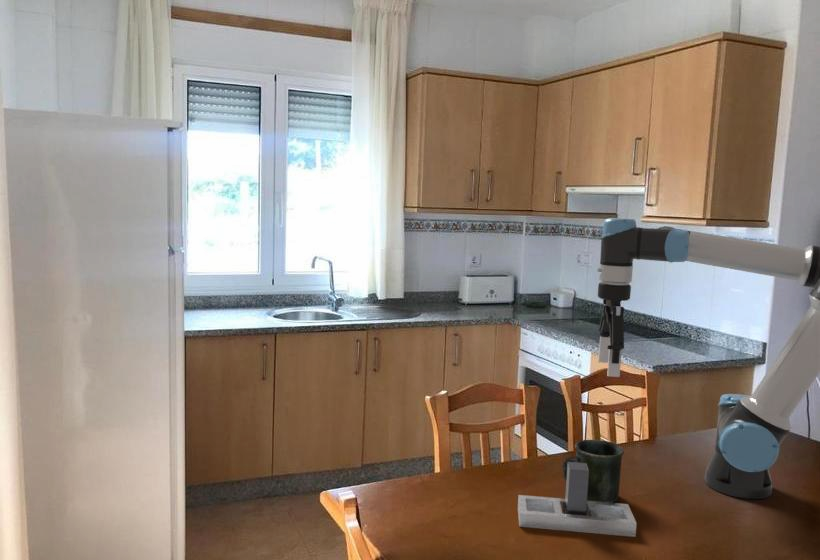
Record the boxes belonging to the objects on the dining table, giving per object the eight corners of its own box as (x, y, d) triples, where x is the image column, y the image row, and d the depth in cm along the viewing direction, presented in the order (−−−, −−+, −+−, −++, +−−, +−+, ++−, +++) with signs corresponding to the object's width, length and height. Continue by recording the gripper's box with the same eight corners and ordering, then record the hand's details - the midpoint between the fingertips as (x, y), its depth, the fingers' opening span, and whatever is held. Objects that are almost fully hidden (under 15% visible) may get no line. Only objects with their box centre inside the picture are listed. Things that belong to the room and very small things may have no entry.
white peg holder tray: (627, 517, 151) (628, 504, 150) (635, 537, 142) (636, 523, 142) (517, 507, 153) (518, 494, 153) (519, 526, 145) (520, 513, 144)
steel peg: (582, 515, 149) (586, 463, 148) (585, 524, 145) (589, 470, 144) (564, 513, 150) (567, 461, 148) (566, 522, 146) (569, 469, 144)
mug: (629, 504, 157) (633, 454, 156) (572, 509, 153) (575, 458, 152) (605, 484, 167) (608, 438, 166) (550, 489, 164) (553, 441, 162)
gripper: (591, 276, 176) (585, 356, 178) (607, 288, 151) (600, 381, 154) (621, 277, 175) (615, 358, 178) (642, 290, 150) (634, 383, 153)
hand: (608, 369), depth 166 cm, fingers open, 13 cm apart
